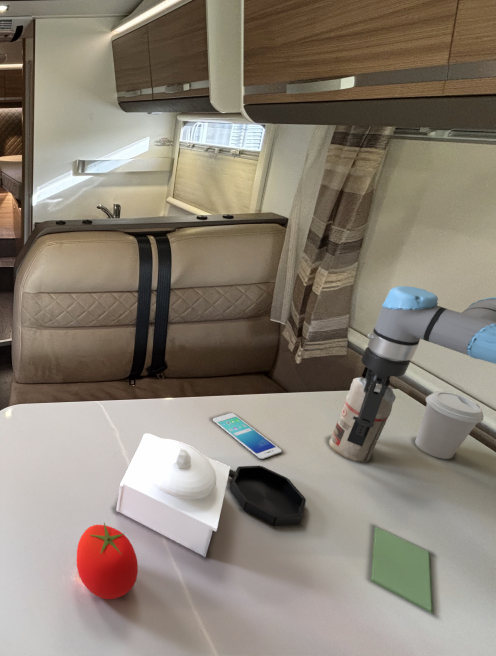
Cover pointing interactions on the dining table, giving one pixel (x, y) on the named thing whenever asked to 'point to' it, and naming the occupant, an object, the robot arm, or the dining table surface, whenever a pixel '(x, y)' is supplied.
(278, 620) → the dining table surface
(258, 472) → the black octagonal pan
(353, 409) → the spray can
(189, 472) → the butter dish
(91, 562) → the tomato
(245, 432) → the smartphone
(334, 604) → the dining table surface
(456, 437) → the coffee cup
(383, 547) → the green flat panel
